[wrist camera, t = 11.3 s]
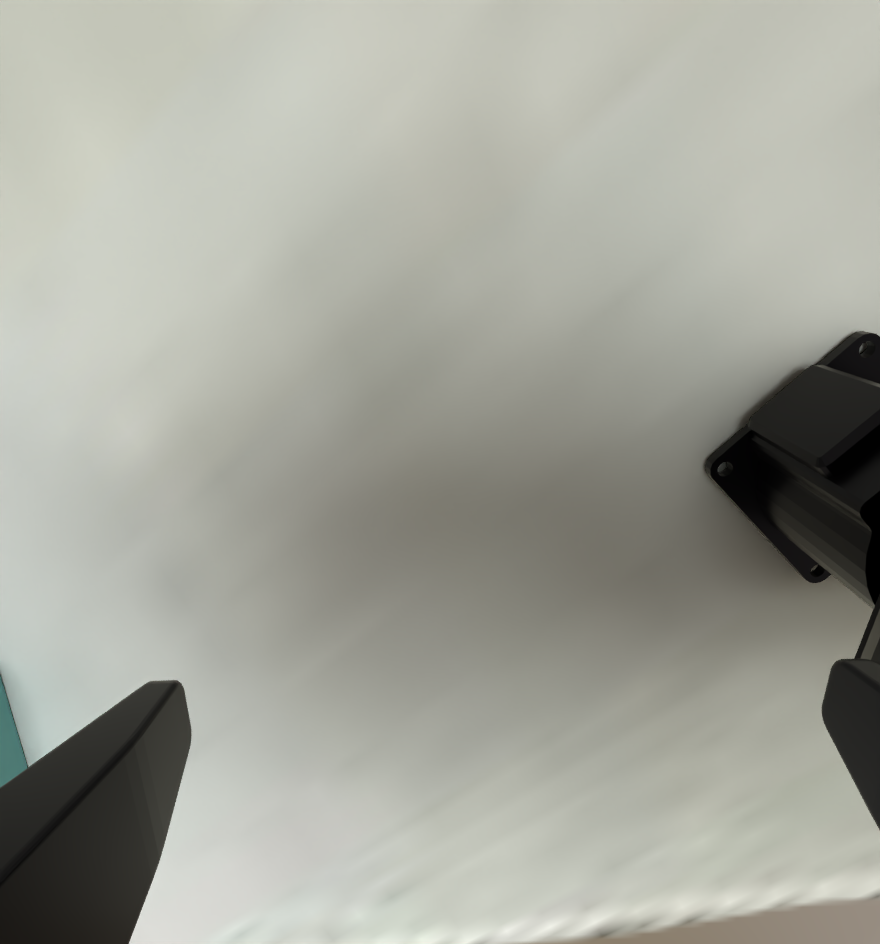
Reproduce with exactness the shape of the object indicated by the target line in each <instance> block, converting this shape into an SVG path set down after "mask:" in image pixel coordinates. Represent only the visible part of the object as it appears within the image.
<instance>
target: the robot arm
mask: <svg viewBox="0 0 880 944" xmlns="http://www.w3.org/2000/svg"><path fill="white" fill-rule="evenodd" d="M865 342H866V343H867V348H866V350H865V351H864V353H862V354H859V348H860V346H861V345H862V344H863V343H865ZM724 462H727V467H726V469H725V470H724V471H722V472H717V471H718V467H719V465H720V464H722V463H724ZM705 471H706V473H707V474H708V476H709V477H710V478H711V479H712V480H713V481H714V482H715V483H716V484H717V486H718V487H719V488H720V489H721V490H722V491H723V492H724V493H725V494H726V495H727V496H728V497H729V498H730V500H731V501H732V502H733V503H734V504H735V505H736V506H737V507H738V508H739V509H740V510H741V511H742V512H743V514H744V515H745V516H746V517H747V518H748V519H749V520H750V521H751V522H752V523H753V524H754V525H755V527H756V528H757V529H758V530H759V531H760V532H761V533H762V534H763V535H764V536H765V537H766V538H767V539H768V541H769V542H770V543H771V544H772V545H773V546H774V547H775V548H776V549H777V550H778V551H779V552H780V554H781V555H782V556H783V557H784V558H785V559H786V560H787V561H788V562H789V563H790V564H791V565H792V566H793V568H794V569H795V570H796V571H797V572H798V573H799V574H800V575H801V576H802V577H803V578H805V579H806V580H807V581H809V582H811V583H818V582H821V581H823V580H825V579H826V578H828V577H829V576H830V575H833V576H834V577H835V578H836V579H838V580H839V581H840V582H841V583H842V584H844V585H845V586H846V587H847V588H848V589H850V590H851V591H852V592H853V593H855V594H856V595H857V596H858V597H859V598H861V599H862V600H863V601H864V602H865V603H867V604H868V605H869V606H870V607H871V608H873V609H874V610H873V612H872V615H871V617H870V620H869V622H868V625H867V628H866V630H865V633H864V635H863V638H862V640H861V643H860V646H859V648H858V651H857V653H856V656H855V658H854V659H841V660H838V661H836V662H835V663H834V664H833V666H832V668H831V671H830V675H829V679H828V683H827V687H826V692H825V696H824V700H823V704H822V717H823V721H824V724H825V726H826V728H827V730H828V732H829V734H830V736H831V738H832V740H833V742H834V744H835V746H836V748H837V750H838V752H839V753H840V755H841V757H842V759H843V761H844V763H845V765H846V767H847V769H848V771H849V773H850V775H851V777H852V779H853V780H854V782H855V784H856V786H857V788H858V790H859V792H860V794H861V796H862V798H863V800H864V802H865V804H866V806H867V807H868V809H869V811H870V813H871V815H872V817H873V819H874V820H875V822H876V824H877V826H878V828H879V829H880V337H879V336H878V335H877V334H873V333H869V332H864V331H861V332H856V333H854V334H853V335H851V336H850V337H849V338H847V339H846V340H845V341H844V342H843V343H842V344H840V345H839V346H838V347H837V348H836V349H835V350H833V351H832V352H831V353H830V354H829V355H828V356H826V357H825V358H824V359H823V360H822V361H821V362H819V363H818V364H817V365H812V366H810V367H808V368H807V369H806V370H805V371H804V372H803V373H801V374H800V375H799V376H798V377H797V378H796V379H794V380H793V381H792V382H791V383H790V384H789V385H787V386H786V387H785V388H784V389H783V390H782V391H780V392H779V393H778V394H777V395H776V396H775V397H774V398H772V399H771V400H770V401H769V402H768V403H767V404H765V405H764V406H763V407H762V408H761V409H760V410H758V411H757V412H756V413H755V414H754V415H753V416H751V418H750V421H749V423H748V424H747V425H746V426H745V427H743V428H742V429H741V430H740V431H739V432H738V433H736V434H735V435H734V436H733V437H732V438H731V439H729V440H728V441H727V442H726V443H725V444H724V445H722V446H721V447H720V448H719V449H718V450H717V451H715V452H714V453H713V454H712V455H711V456H710V457H709V458H708V459H707V462H706V464H705ZM817 564H818V567H817V568H816V569H815V570H813V571H811V568H812V567H813V566H815V565H817ZM190 744H191V724H190V719H189V713H188V708H187V702H186V697H185V691H184V688H183V686H182V684H181V683H180V682H179V681H177V680H168V681H150V682H148V683H146V684H144V685H143V686H142V687H140V688H139V689H137V690H136V691H135V692H133V693H132V694H130V695H129V696H128V697H126V698H125V699H123V700H122V701H121V702H119V703H118V704H116V705H115V706H114V707H112V708H111V709H109V710H108V711H107V712H105V713H104V714H102V715H101V716H100V717H98V718H97V719H95V720H94V721H93V722H91V723H90V724H88V725H87V726H86V727H84V728H83V729H81V730H80V731H79V732H77V733H76V734H74V735H73V736H72V737H70V738H69V739H67V740H66V741H65V742H63V743H62V744H60V745H59V746H58V747H56V748H55V749H53V750H52V751H51V752H49V753H48V754H46V755H45V756H44V757H42V758H41V759H39V760H38V761H37V762H35V763H34V764H32V765H31V766H30V767H28V768H27V769H25V770H24V771H23V772H21V773H20V774H18V775H17V776H16V777H14V778H13V779H11V780H10V781H9V782H7V783H6V784H4V785H3V786H2V787H0V944H129V941H130V939H131V936H132V933H133V931H134V928H135V926H136V923H137V920H138V918H139V915H140V912H141V910H142V907H143V904H144V902H145V899H146V896H147V894H148V891H149V889H150V886H151V883H152V881H153V878H154V875H155V872H156V869H157V866H158V864H159V861H160V858H161V854H162V851H163V847H164V844H165V840H166V836H167V833H168V829H169V825H170V821H171V817H172V814H173V810H174V806H175V802H176V798H177V795H178V791H179V787H180V783H181V779H182V776H183V772H184V768H185V764H186V760H187V757H188V753H189V749H190Z"/></svg>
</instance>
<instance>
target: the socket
mask: <svg viewBox="0 0 880 944" xmlns="http://www.w3.org/2000/svg"><path fill="white" fill-rule="evenodd" d="M27 768H28V767H27V764H26V760H25V757H24V754H23V750H22V747H21V743H20V740H19V737H18V733H17V730H16V727H15V723H14V720H13V717H12V713H11V710H10V706H9V703H8V700H7V696H6V693H5V690H4V686H3V683H2V680H1V676H0V787H2V786H3V785H4V784H6V783H7V782H9V781H10V780H11V779H13V778H14V777H16V776H17V775H18V774H20V773H21V772H23V771H24V770H25V769H27Z"/></svg>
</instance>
